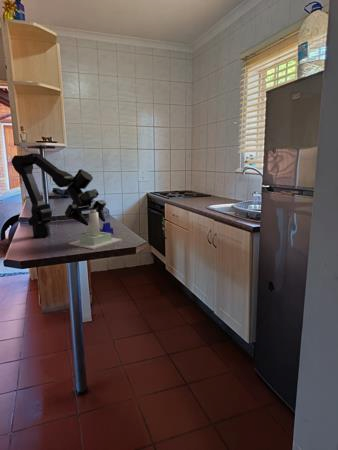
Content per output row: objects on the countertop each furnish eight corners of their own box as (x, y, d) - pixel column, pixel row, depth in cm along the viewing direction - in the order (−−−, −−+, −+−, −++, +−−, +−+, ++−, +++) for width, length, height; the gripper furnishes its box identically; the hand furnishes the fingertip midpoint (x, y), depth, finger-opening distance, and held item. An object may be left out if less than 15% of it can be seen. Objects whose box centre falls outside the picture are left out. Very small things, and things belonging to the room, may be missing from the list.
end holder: (68, 244, 130) (68, 236, 129) (97, 236, 143) (97, 229, 142) (93, 249, 121) (92, 240, 120) (122, 240, 133) (121, 232, 133)
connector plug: (87, 241, 131) (84, 210, 128) (96, 239, 135) (93, 209, 132) (95, 243, 128) (92, 211, 125) (103, 240, 132) (101, 209, 129)
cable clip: (113, 234, 147) (112, 222, 146) (105, 236, 144) (105, 223, 143) (98, 231, 155) (97, 219, 154) (91, 233, 152) (90, 221, 151)
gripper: (66, 185, 122) (86, 214, 117) (101, 182, 136) (120, 207, 132) (56, 203, 128) (75, 231, 123) (91, 198, 142) (109, 223, 138)
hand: (96, 223), depth 129 cm, fingers open, 9 cm apart
